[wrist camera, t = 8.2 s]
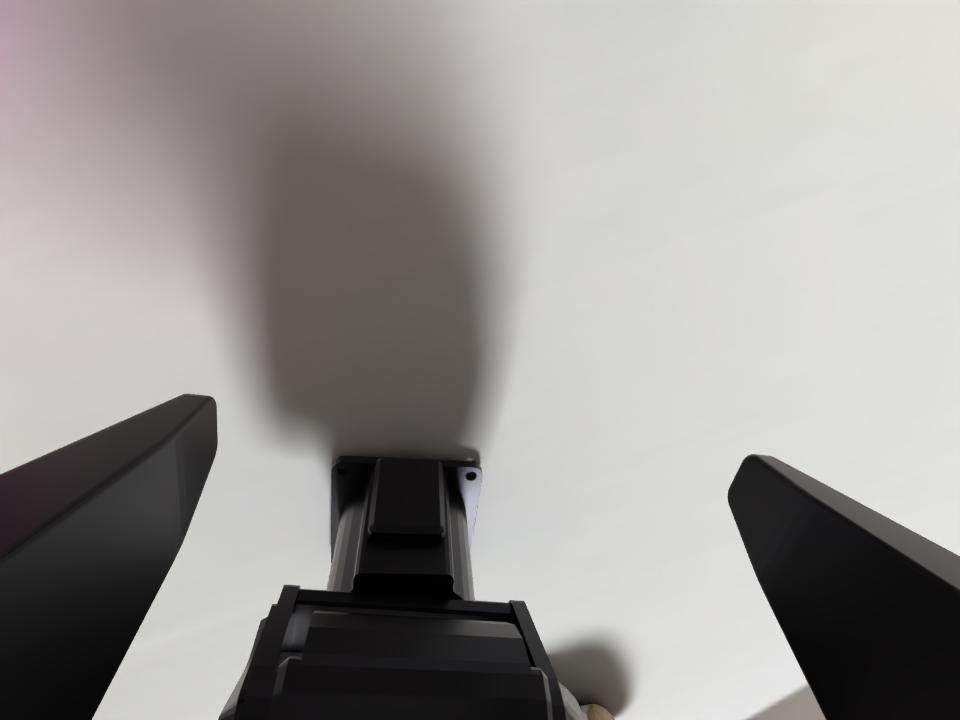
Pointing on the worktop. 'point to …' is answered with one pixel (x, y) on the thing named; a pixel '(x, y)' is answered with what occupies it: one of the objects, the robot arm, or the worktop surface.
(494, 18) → the worktop surface
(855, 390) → the worktop surface
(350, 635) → the robot arm
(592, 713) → the ceramic mug
